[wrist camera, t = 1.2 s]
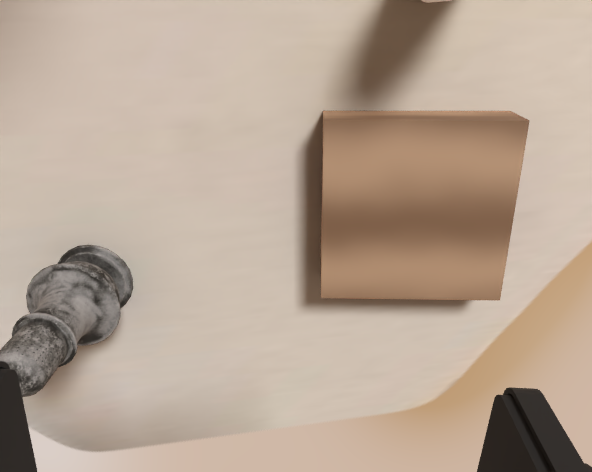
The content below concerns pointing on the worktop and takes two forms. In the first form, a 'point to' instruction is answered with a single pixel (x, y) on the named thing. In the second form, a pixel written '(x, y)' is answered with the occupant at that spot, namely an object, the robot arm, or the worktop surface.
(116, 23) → the worktop surface
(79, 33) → the worktop surface
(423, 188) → the walnut stand
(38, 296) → the salt shaker
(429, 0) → the eye dropper bottle
